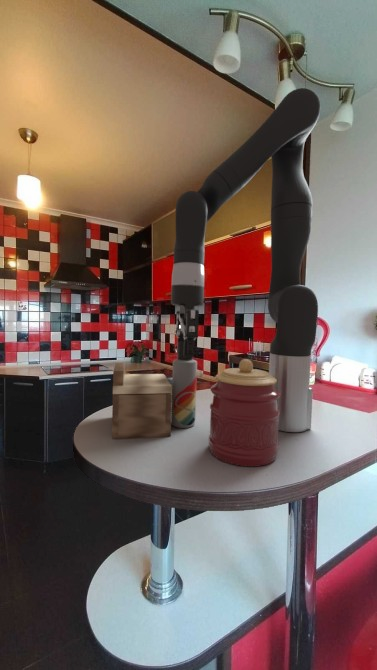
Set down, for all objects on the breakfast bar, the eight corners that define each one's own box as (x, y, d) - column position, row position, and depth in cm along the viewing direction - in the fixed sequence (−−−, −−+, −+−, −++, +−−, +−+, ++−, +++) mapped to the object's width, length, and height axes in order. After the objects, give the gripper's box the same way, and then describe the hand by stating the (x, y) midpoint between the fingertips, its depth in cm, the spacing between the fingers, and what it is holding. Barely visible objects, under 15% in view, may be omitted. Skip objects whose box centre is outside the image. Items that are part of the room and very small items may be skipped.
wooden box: (162, 415, 77) (163, 380, 77) (170, 436, 63) (171, 394, 63) (114, 416, 75) (115, 381, 74) (111, 439, 61) (112, 395, 61)
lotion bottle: (192, 429, 68) (195, 341, 67) (168, 427, 69) (170, 339, 68) (197, 421, 73) (199, 339, 72) (174, 419, 74) (176, 338, 73)
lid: (163, 379, 77) (164, 362, 76) (171, 393, 63) (172, 371, 63) (115, 380, 74) (115, 362, 74) (112, 394, 61) (113, 372, 60)
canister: (283, 472, 50) (288, 366, 49) (204, 463, 52) (208, 362, 51) (273, 441, 63) (277, 356, 62) (211, 435, 65) (214, 353, 64)
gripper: (212, 282, 63) (208, 359, 64) (196, 289, 77) (193, 351, 78) (176, 280, 62) (173, 358, 62) (167, 287, 76) (165, 351, 76)
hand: (184, 354), depth 70 cm, fingers open, 8 cm apart
